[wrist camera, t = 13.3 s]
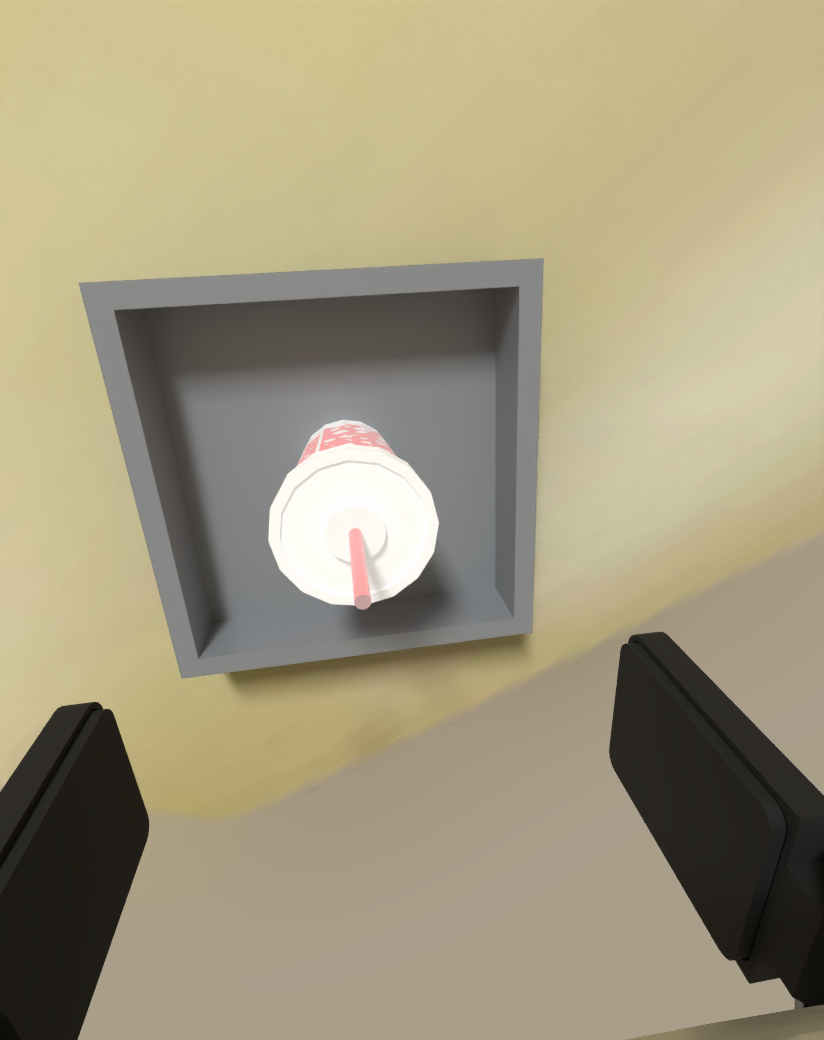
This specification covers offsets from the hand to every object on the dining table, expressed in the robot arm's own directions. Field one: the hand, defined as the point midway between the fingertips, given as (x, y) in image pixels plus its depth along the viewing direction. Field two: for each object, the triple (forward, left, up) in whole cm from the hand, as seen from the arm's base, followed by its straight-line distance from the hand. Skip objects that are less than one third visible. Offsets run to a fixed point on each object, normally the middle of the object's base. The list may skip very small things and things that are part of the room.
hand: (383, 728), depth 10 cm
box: (0, 0, -20) cm, 20 cm away
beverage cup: (0, 0, -19) cm, 19 cm away
